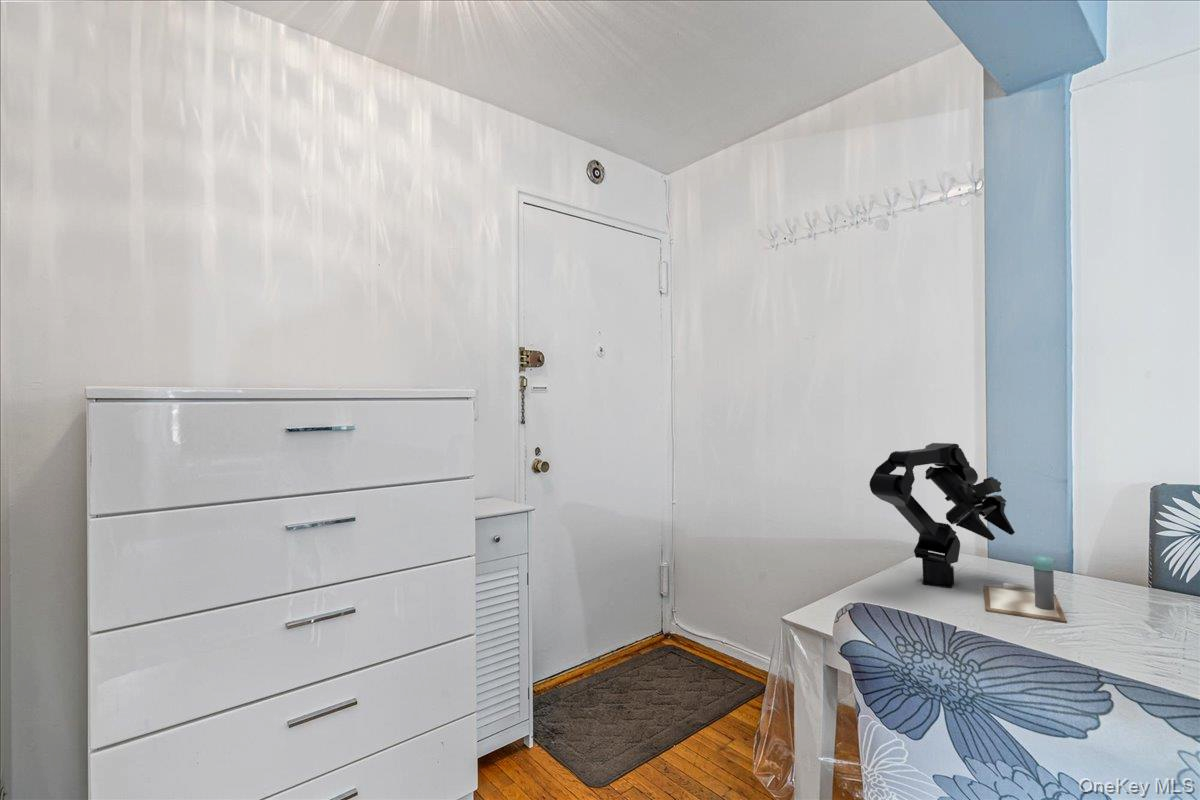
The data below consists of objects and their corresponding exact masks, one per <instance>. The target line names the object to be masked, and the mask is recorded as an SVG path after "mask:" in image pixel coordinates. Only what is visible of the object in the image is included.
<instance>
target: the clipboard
mask: <svg viewBox="0 0 1200 800" xmlns="http://www.w3.org/2000/svg"><path fill="white" fill-rule="evenodd" d="M1002 586H1003V587H1002ZM1002 586H997V585H996V586H995V585H987V584H985V585H983V594H984V609H985V610H984V611H985V612H989V613H996V614H1002V615H1010V616H1016V617H1024V618H1031V619H1036V620H1037V619H1038V620H1043V621H1044V620H1045V621H1050V622H1057V623H1064V624H1067V623H1068V620H1067V618H1066V616H1065V614H1064V612H1063V609H1062V607H1061V605H1060V602H1059V600H1058V597H1057V596H1056V594H1055V593H1054V608H1055V609H1054V610H1045V609H1041V608H1038V607H1036V606H1035V589H1034V585H1033V586H1031V585H1023V584H1016V583H1015V584H1014V583H1008V582H1003V583H1002Z"/></svg>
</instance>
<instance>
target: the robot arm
mask: <svg viewBox="0 0 1200 800" xmlns="http://www.w3.org/2000/svg"><path fill="white" fill-rule="evenodd" d="M930 464H931V465H934V466H935V467H934V466H929V467H928V468H927V469H925V480H931V482H933V484H934V485H936V486H937V488H938V489H940V490H941V491H942V492H943V494H944V495H945V497H944V499H945V500H946V501H947V502H952V503H953V504H954V506H953V507H952V508H951V509H949V510H948V511H947V512H946V513H945V519H946V520H947V522H949V524H948V523H946V522H945V523H944V522H937V521H935V520H934V519H933V518H932V517H931V516H930V514H929V513H928V512H927V511H926V510H925V508H924V507H923V506H922V505H921V504H920V503H919V502H918V500H917V499H915V497H914V496H913V495H912V492H913V484H914V483H915V479H916V478H915V474H914V473H915V472H914V468H915V467H919V466H925V465H930ZM897 468H905V472H904V474H895V473H894V474H893V473H892V472H894V471H895V470H896V469H897ZM873 472H874V473H873V474H872V476H871V478H870V479H869V488H870V491H871V493H872V494H873V496H875V497H877V498H878V499H880V500H881V501H884V502H886V503H888V504H891V505H892V506H893V507H894V508H896V510H897V511H898V512H899V513H900V515H902V516H903V518H904V519H905V520H906V521H907V522H908V523H909V524H910V525H911V526H912V527H913V529H915V531H916V532H917V533H918V534H919V536H918V539H917V540H918V541H917V544H916V545H915V547H914V549H913V553H914V556H915V558H916V559H922V581H921V582H922V583H921V584H922V585H924V586H925V585H926V586H931V587H932V586H933V587H940V588H948V589H952V588H953V585H954V584H955V569H954V568H955V567H954V566H953V565H952V564H956V563H958V562H959V556H960V550H961V541H960V539H959V537H958V536H957V531H955V530H954V529H953V528H952V526H951V525H955V526H956V527H960V528H963V529H965V530H967V531H969V532H972V533H974V534H976V535H979V536H981V537H982V538H985V539H986V540H989V541H991V542H992V541H994V540H995V539H996V536H994V534H993V533H992V531H991V530H990V529H989V528H988V526H987V525H986V524H985V523H984V522H983V521H982V519H981V517H980V516H982V517H983V519H984V520H985V521H987V522H988V523H990V524H992V525H993V526H995V527H996V528H998V529H1000V530H1001V531H1003V532H1005V533H1007V534H1008V535H1010V536H1013V535H1014V534H1015V530H1014V528H1013V527H1012V525H1011V522H1010V521H1009V520H1008V518H1007V515H1006V513H1005V507H1006V505H1007V504H1006V503H1007V500H1006V499H1005V498H1004V496H1002V495H999V494H994V493H1000V492H1002V491H1003V490H1002V488H1001V485H1002V482H1001V481H998V479H997V478H994V477H993V476H989V477H986V478H984V479H983V480H982V482H979V483H977V482H978V480H979V474H978V473H977V471H976V470H975V468H974V467H972V466H970V462H969V461H968V459H967V458H966V455H965V453H964V451H963V449H962V448H960V445H959V444H958V443H950V442H949V443H948V442H947V443H943V442H941V443H940V442H932V443H929V444H926V445H925V447H924V448H920V449H911V450H903V451H899V450H896V451H892V452H891V453H889V456H888V457H887V459H886V460H885V461H884V462H882V463H881V464H880V465H878V466H877V467H876V469H875V470H874V471H873ZM976 483H977V484H976ZM991 494H993V495H991Z"/></svg>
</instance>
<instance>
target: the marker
mask: <svg viewBox="0 0 1200 800" xmlns="http://www.w3.org/2000/svg"><path fill="white" fill-rule="evenodd" d="M1032 559H1033V563H1032V564H1033V582H1034V583H1033V584H1034V585H1033V587H1034V591H1035V606H1036V607H1038V608H1041V609H1045V610H1054V609H1055V608H1054V594H1055V584H1054V583H1055V580H1054V571H1055V570H1054V568H1055V567H1054V558H1053V557H1049V556H1045V555H1033V556H1032Z"/></svg>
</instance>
